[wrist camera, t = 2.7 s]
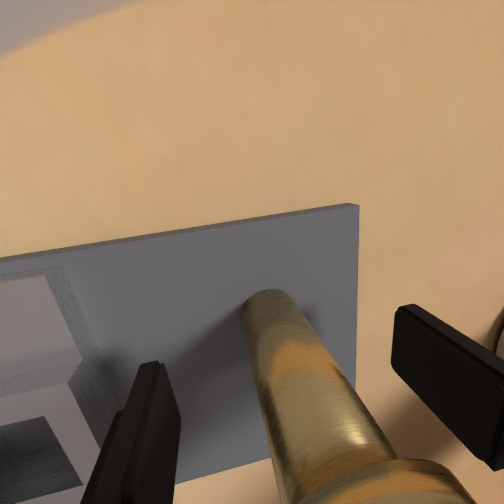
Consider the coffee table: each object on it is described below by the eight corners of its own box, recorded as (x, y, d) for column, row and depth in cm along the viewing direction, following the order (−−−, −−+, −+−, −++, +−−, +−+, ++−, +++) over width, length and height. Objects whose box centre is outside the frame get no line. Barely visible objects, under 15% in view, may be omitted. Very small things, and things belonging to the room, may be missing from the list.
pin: (307, 268, 12) (531, 485, 4) (310, 339, 14) (478, 613, 5) (220, 285, 12) (251, 580, 3) (234, 357, 13) (280, 692, 5)
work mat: (348, 202, 12) (359, 205, 12) (346, 420, 18) (354, 433, 17) (-208, 290, 10) (-253, 303, 9) (-14, 518, 15) (-29, 542, 14)
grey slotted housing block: (62, 264, 10) (21, 290, 8) (154, 484, 15) (144, 539, 13) (-132, 296, 9) (-241, 335, 7) (32, 518, 14) (-1, 583, 12)
